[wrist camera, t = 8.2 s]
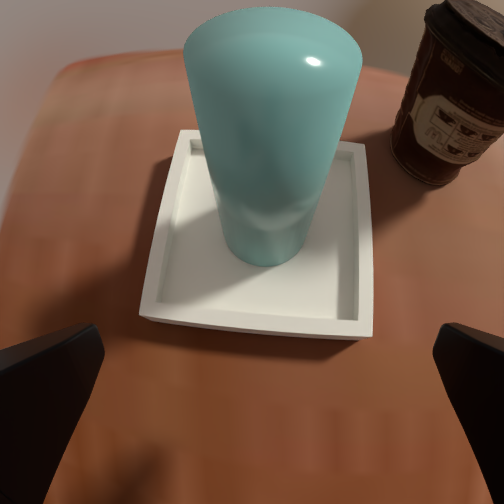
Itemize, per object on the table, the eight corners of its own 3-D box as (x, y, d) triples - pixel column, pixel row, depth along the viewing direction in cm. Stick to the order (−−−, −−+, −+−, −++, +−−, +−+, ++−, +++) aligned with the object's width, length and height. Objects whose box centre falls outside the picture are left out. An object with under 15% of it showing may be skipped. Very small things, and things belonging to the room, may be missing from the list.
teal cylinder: (289, 279, 17) (341, 125, 6) (208, 248, 18) (148, 76, 7) (317, 206, 19) (372, 31, 8) (242, 180, 20) (230, -2, 8)
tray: (359, 340, 17) (372, 336, 15) (151, 320, 18) (138, 314, 16) (356, 163, 21) (364, 144, 19) (186, 149, 22) (180, 129, 20)
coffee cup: (479, 209, 20) (582, 104, 8) (386, 197, 21) (476, 46, 8) (453, 123, 23) (516, 15, 11) (369, 106, 23) (413, -29, 11)
